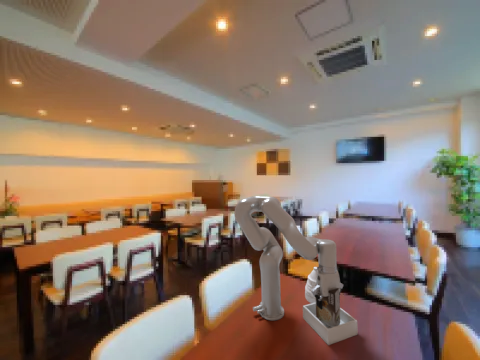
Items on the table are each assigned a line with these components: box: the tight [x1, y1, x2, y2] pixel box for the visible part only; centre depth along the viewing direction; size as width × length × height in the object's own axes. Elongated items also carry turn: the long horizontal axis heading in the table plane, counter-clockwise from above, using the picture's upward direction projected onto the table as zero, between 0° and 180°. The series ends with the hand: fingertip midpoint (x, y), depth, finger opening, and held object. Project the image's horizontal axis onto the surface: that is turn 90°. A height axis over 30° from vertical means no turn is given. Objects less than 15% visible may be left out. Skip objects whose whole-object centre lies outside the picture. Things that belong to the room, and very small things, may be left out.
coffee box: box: [315, 286, 341, 327], centre depth 92 cm, size 9×6×16 cm
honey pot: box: [304, 266, 318, 304], centre depth 112 cm, size 13×13×18 cm
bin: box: [302, 302, 359, 346], centre depth 92 cm, size 16×17×6 cm
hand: (327, 305), depth 92 cm, fingers closed on coffee box, 8 cm apart
